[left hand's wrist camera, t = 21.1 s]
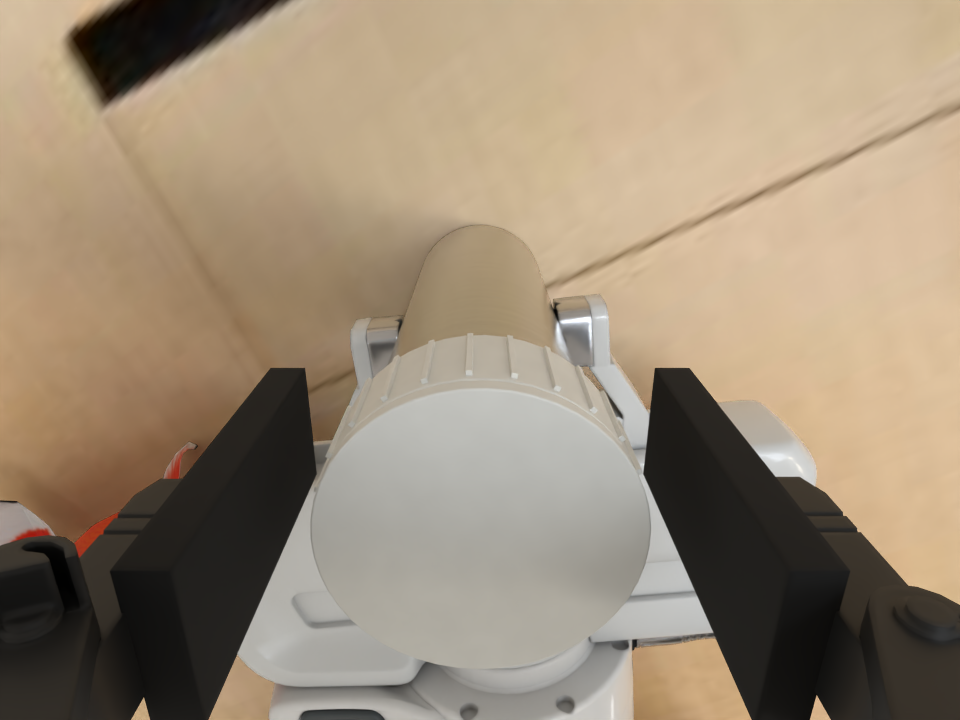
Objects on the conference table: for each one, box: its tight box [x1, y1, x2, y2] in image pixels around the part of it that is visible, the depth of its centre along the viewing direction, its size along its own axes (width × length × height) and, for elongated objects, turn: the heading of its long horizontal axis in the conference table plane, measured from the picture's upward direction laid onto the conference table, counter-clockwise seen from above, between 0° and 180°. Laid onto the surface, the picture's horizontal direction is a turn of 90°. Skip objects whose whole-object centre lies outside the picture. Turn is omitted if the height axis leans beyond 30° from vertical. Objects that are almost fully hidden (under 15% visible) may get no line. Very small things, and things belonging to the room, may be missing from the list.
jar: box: [387, 225, 573, 366], centre depth 18 cm, size 5×5×15 cm
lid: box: [310, 333, 651, 669], centre depth 12 cm, size 6×6×2 cm
